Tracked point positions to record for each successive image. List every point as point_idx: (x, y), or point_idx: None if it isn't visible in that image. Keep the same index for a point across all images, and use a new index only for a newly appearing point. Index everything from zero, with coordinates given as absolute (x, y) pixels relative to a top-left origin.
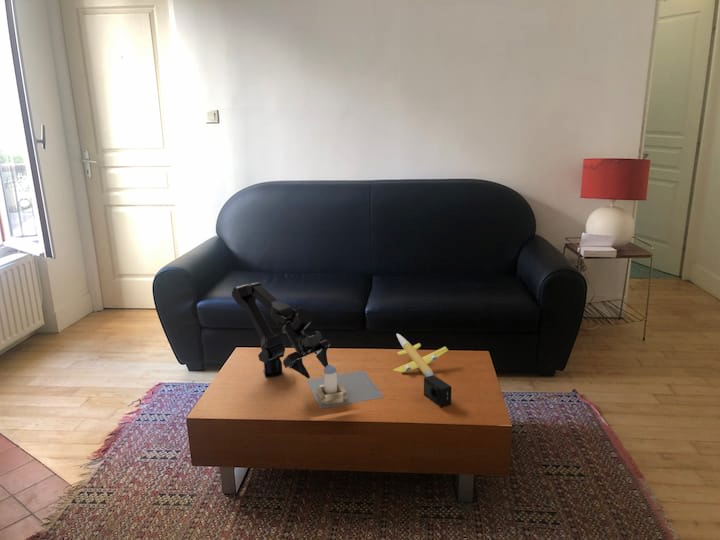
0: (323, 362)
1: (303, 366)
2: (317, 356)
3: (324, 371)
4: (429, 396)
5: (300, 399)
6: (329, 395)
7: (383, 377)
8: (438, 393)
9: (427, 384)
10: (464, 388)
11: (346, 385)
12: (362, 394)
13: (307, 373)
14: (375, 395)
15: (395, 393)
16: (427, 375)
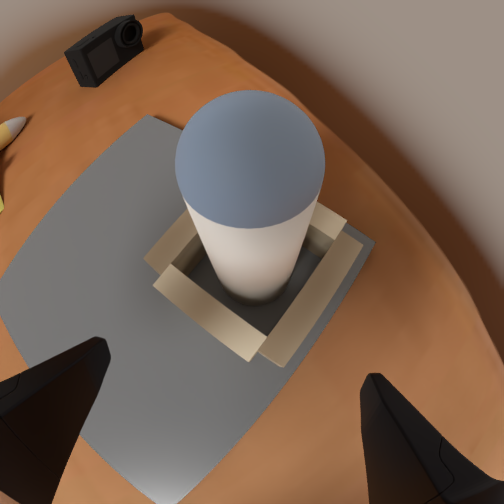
0: (66, 410)
1: (441, 466)
2: (39, 501)
3: (322, 179)
4: (112, 66)
5: (348, 415)
6: (320, 212)
7: (15, 216)
8: (138, 22)
9: (96, 49)
10: (61, 73)
11: (106, 282)
12: (156, 170)
13: (397, 398)
14: (145, 136)
15: (101, 126)
16: (17, 125)
